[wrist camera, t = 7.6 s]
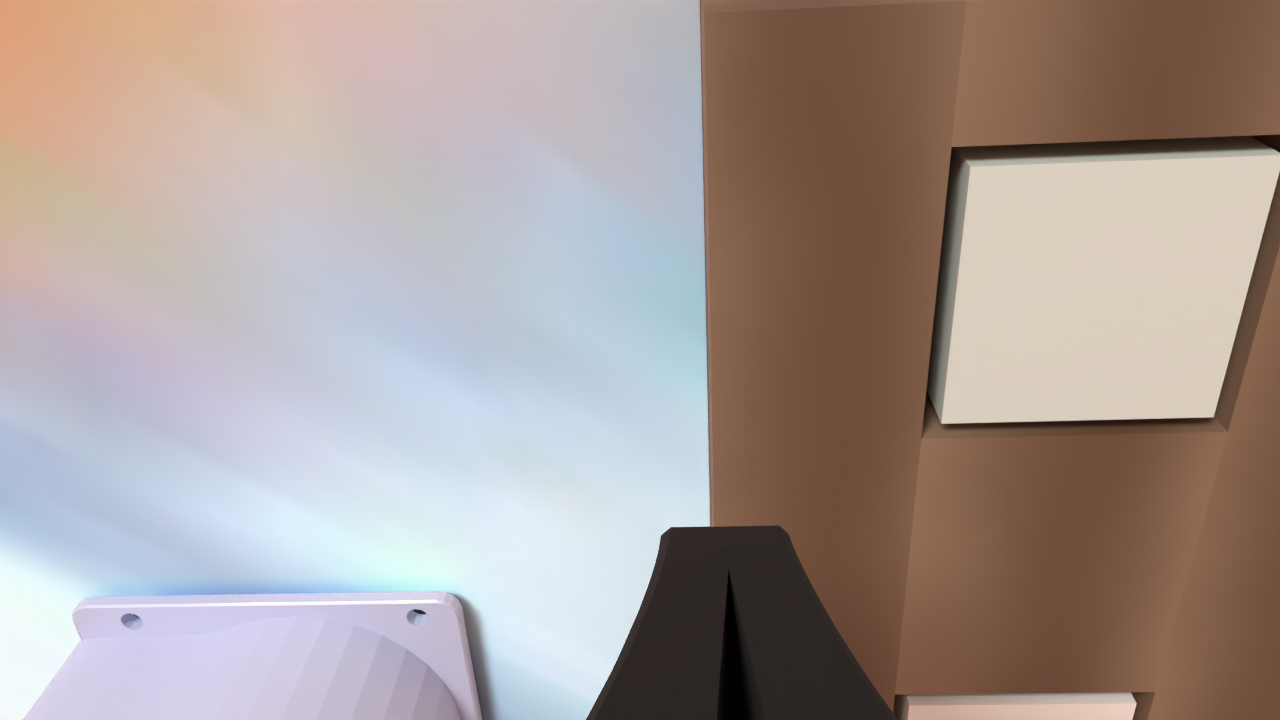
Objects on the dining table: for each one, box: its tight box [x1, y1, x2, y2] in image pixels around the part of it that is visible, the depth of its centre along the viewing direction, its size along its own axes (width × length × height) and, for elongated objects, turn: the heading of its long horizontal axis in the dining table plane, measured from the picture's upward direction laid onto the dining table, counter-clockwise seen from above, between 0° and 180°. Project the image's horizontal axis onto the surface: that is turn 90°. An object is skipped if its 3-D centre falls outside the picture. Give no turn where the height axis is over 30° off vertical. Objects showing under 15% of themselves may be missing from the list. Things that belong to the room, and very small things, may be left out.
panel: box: [700, 0, 1280, 720], centre depth 20 cm, size 12×20×4 cm, turn 3°
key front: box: [926, 136, 1280, 424], centre depth 17 cm, size 4×4×3 cm
